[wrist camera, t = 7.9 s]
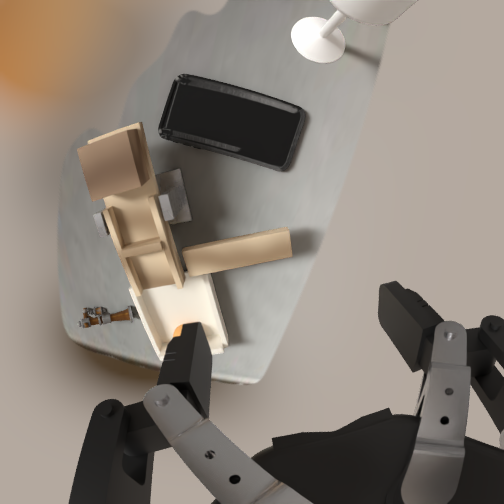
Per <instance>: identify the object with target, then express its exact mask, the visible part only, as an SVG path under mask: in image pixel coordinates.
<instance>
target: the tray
mask: <svg viewBox="0 0 504 504" xmlns="http://www.w3.org/2000/svg"><path fill="white" fill-rule="evenodd" d="M184 273H185V276H186V279H185V282H184V287H183V288H182V289H177V286H176V284H172V285H167V286H161V287H156V288H150V289H145V290H143V292H142V295H141V296H138V297H136V295H135V293H134V291H133V288H132V286H130V288H129V291H130V294H131V296H132V299H133V301H134V304H135V306H136V309H137V311H138V313H139V316H140V318H141V320H142V323H143V325H144V327H145V330H146V332H147V334H148V336H149V339H150V341H151V343H152V345H153V347H154V349H155V351H156V353H157V356H158V357H159V359H160V361H163V359H164V355H165V352H166V348H167V345H168V343H169V342H170V341H171V340H172V338H173V333H174V331H175V329H176V328H177V327H178V326H179V325H182V324H187V323H194V322H201V324H202V326H203V329H204V332H205V335H206V338H207V340H208V343H209V346H210V349H211V353H212V354H219V353H224V348H226V347H228V333H227V330H226V326H225V323H224V319H223V316H222V312H221V309H220V305H219V302H218V298H217V295H216V291H215V287H214V284H213V280H212V276H211V273H208V274H203V275H197V276H192V277H190V276H189V273H188V271H186V272H184Z"/></svg>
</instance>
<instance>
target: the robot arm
mask: <svg viewBox="0 0 504 504" xmlns="http://www.w3.org/2000/svg"><path fill="white" fill-rule="evenodd" d="M378 317H379V322H380V324H381V326H382V328H383V329H384V331H385V332H386V333H387V335H388V336H389V337H390V339H391V341H392V342H393V344H394V345H395V346H396V348H397V349H398V351H399V352H400V354H401V355H402V357H403V358H404V360H405V361H406V363H407V364H408V366H409V367H410V369H411V371H412V372H416V371H418V370H420V369H422V370H423V371H424V374H423V377H422V382H421V386H420V391H419V396H418V400H417V404H416V407H415V411H414V414H413V415H404V414H396V415H392V413H391V411H390V409H389V408H386V409H384V410H381V411H378V412H375V413H372V414H369V415H366V416H363V417H361V418H359V419H357V420H355V421H354V422H352V423H350V424H348V425H347V426H344V427H342V428H341V429H339V430H336V431H332V432H301V433H297V434H292V435H286V436H280V437H275V438H272V442H273V446H271V447H269V448H266V449H264V450H262V451H260V452H259V453H257V454H255V455H254V456H253V457H252V458H250V457H248V456H247V455H246V454H245V453H244V452H243V451H242V450H240V449H239V448H238V447H237V446H236V445H235V444H234V443H233V442H232V441H231V440H229V438H228V437H226V436H225V435H224V434H223V433H222V432H221V431H220V430H219V429H218V428H217V427H216V426H215V425H214V424H213V423H212V422H211V421H210V420H209V404H210V388H211V373H212V353H211V349H210V346H209V343H208V340H207V338H206V335H205V332H204V329H203V326H202V324H201V322H194V323H187V324H183V326H182V330H181V334H180V336H175V337H173V338H172V340H171V341H170V342H169V343H168V345H167V348H166V352H165V355H164V359H163V361H164V362H163V363H162V367H161V370H160V374H159V378H158V382H157V386H155V387H153V388H151V389H150V390H149V391H148V392H147V393H146V394H145V396H144V399H143V401H141V402H138V403H135V404H131V405H128V406H123V404H122V403H121V402H119V401H118V400H116V399H108V400H105V401H103V402H101V403H100V404H98V405H97V406H96V407H95V409H94V411H93V413H92V416H91V420H90V423H89V426H88V429H87V433H86V436H85V439H84V443H83V446H82V450H81V454H80V457H79V461H78V465H77V469H76V473H75V477H74V482H73V486H72V490H71V494H70V499H69V504H150V496H151V483H152V472H153V461H154V452H155V451H159V450H162V449H166V448H169V447H173V448H174V450H175V451H176V452H177V454H178V455H179V456H180V458H181V459H182V460H183V461H184V463H185V464H186V465H187V466H188V467H189V469H190V470H191V471H192V472H193V473H194V475H195V476H196V477H197V478H198V479H199V480H200V481H201V483H202V484H203V485H204V486H205V487H206V488H207V489H208V490H209V491H210V493H211V494H212V495H213V496H214V497H215V498H216V499H215V500H214V501H213V502H212V503H211V504H504V377H503V376H502V375H501V373H500V372H499V371H498V369H497V368H496V367H495V365H494V364H495V362H496V360H497V361H498V362H499V364H500V365H501V366H502V367H503V369H504V319H502V318H500V317H498V316H493V315H490V316H486V317H485V318H483V319H482V322H481V325H480V327H479V328H472V329H465V328H464V327H463V326H462V325H461V324H459V323H457V322H454V321H444V320H443V319H442V318H441V317H440V316H439V315H438V314H437V313H436V312H435V310H434V309H433V308H432V307H431V306H430V305H429V306H428V303H427V302H426V301H425V300H423V298H422V297H421V296H420V295H419V294H417V293H416V292H414V291H412V290H410V289H404V288H403V287H402V286H401V285H400V284H399V283H398V282H397V281H393V282H390V283H386V284H382V285H380V288H379V306H378ZM470 385H471V386H472V388H473V389H474V391H475V392H476V394H477V395H478V397H479V399H480V400H481V402H482V403H483V405H484V407H485V408H486V410H487V411H488V413H489V415H490V417H491V418H492V420H493V422H494V423H495V425H496V427H497V429H498V430H499V432H500V434H501V435H500V447H499V448H497V447H494V446H491V445H488V444H485V443H483V442H480V441H477V440H475V439H472V438H469V437H467V436H465V432H466V425H467V417H468V407H469V396H470Z"/></svg>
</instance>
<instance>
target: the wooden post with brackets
mask: <svg viewBox="0 0 504 504" xmlns="http://www.w3.org/2000/svg"><path fill="white" fill-rule="evenodd" d="M88 312H89V311H87V308H83V315H84V319H81V322H80V321H79V322H78V323H77V325H78V326H79V327H81V326H82V328H88V327H91V325H96V324H100V325H102V323H103V324H107V323H111V322H112V321H121V320H131V323H132V322H133V323H134V321H133V316H132V311H131V307H130V306H128V309H126V310H124V311H121V312H118V313H115V314H110V313H109V314H106V315H103V313H104V312H106V309H105V308H101V307H99V308H95V307H94V310H93V311H92V310H91V311H90V312H91V313H90V312H89V314H92V313H93V314H94V315H95V316H96V315H99V316H98V317H95V318H93V317H91V316H89V315H88ZM100 315H102V316H100Z"/></svg>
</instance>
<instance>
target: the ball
mask: <svg viewBox="0 0 504 504" xmlns="http://www.w3.org/2000/svg"><path fill="white" fill-rule="evenodd" d="M182 326H183V324H182V325H179V326H178V327H177V328H176V329H175V331H174V333H173V337H175V336H180V334H181V330H182Z"/></svg>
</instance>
